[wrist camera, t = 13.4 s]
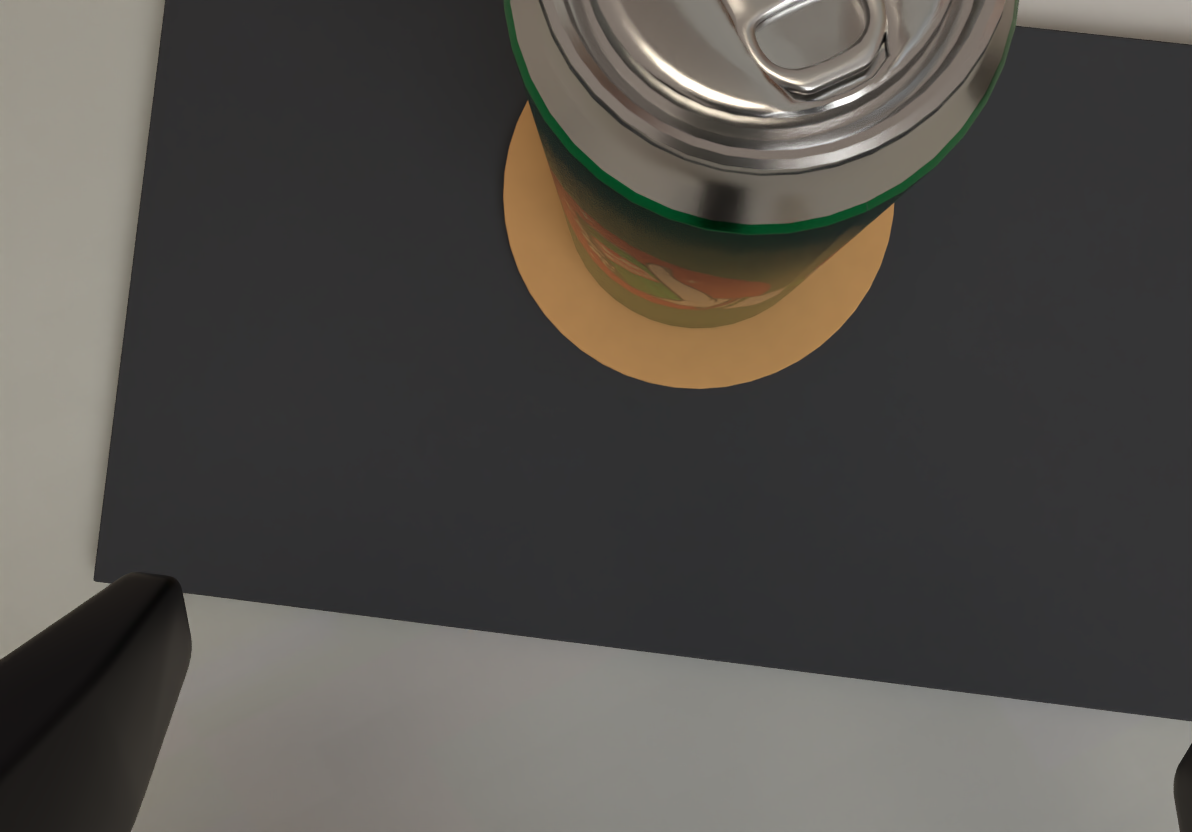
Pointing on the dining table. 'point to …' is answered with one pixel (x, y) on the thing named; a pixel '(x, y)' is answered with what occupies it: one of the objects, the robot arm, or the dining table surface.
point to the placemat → (661, 375)
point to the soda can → (743, 132)
